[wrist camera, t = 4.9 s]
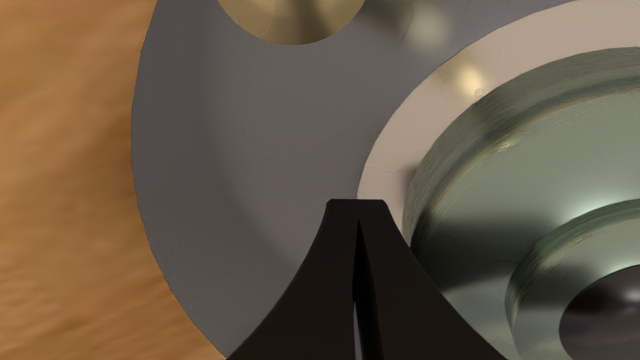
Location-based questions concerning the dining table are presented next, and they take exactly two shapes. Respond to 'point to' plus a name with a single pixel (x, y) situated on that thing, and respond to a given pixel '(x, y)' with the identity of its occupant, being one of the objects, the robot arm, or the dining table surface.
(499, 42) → the turntable platter
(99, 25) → the dining table surface
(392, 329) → the robot arm
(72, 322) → the dining table surface
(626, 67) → the cover
